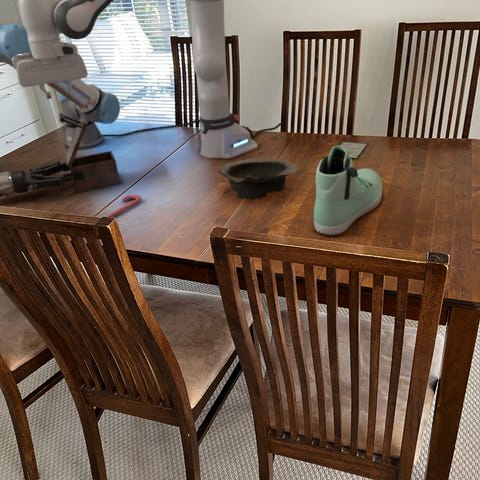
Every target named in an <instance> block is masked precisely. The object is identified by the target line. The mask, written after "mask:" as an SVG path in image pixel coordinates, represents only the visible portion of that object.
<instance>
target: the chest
mask: <svg viewBox="0 0 480 480" xmlns="http://www.w3.org/2000/svg"><path fill="white" fill-rule="evenodd" d="M118 170H119V169H118V166H117V161H116V158H115V156H114V154H113V152H112V150H109V151H104V152H97V153H93V154H87V155H81V156H77V157H76V156H75V159H74V161H73V164H72V166H71V167H70V171H69V172H70V173H72V172H77V171H83V172H84V176H85V179H81V180H76V181H72V182H73V186H74V190H75V193H76V194H77V193H83V192H88V191H91V190H92V191H93V190H96V189H101V188H106V187H110V186H116V185H120V184H121V180H120V175H119V171H118Z"/></svg>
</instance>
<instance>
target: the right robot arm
mask: <svg viewBox="0 0 480 480" xmlns="http://www.w3.org/2000/svg"><path fill="white" fill-rule="evenodd" d="M114 1H115V0H18V9H19V14H20V17H21V21H22V25H23V26H24V27H25V29H26V31H27V34H28V43H29V46H30V50H31V52H29V53H24V54H16V56H14V57H13V58H12V64H13V67H14V70H16V72H17V73H16V74H17V79H18V83H19V85H20V86H21V87H22V88H29V87H35V86H38V87H39V89H40V91H42V92H43V94H44V95H45V97H46V99H47V100H50V99H52V98H53V97H52V93H51V91H47V90H46V89H45V88H46V87H45V85H47V84H49V83H56V82H62V81H67V83H68V84H69V86H68V89H65V91H66V95H67V96H70V95H71V91H70V90H71V87H72V80H75V79H81V80H83V79H86V78H87V77H88V75H89V73H88V69H87V67H86V63H85V62H84V61H85V60H84V58H83V56H81V54H80V53H79V49H78V46H77V45H76V44H75V43H69V42H63V41H61V38H60V34H62V35H64V36H65V37H67V38H68V39H71V40H83V39H86V38H87V37H88V36H89V35H90V34H91V33H92V31H93V29H94V27H95V24H96V21H97V19H98V18H99V16H100V14H102V12H104V11H105V10H106V8H108V7H109V6H110V5H111V4H112V3H113V2H114ZM190 15H191V16H190V17H191V34H192V35H191V40H192V41H191V42H192V65H193V70H194V72H195V75H196V83H197V84H196V86H197V88H196V89H197V98H198V99H197V100H198V108H199V119H198V120H200V123H199V128H200V132H201V144H200V151H199V154H200V155H201V156H203V157H205V158H208V159H227V160H228V159H233V158H235V157H238V156H240V155H243V154H246V153H249V152H251V151H254V150H257V149H258V143H257V141H255V140H253V139H254V138H255V137H257V136H258V135H259V134H260V133H263V132H269V131H274V130H277V129H278V128H279V127H280V126H281V127H284V126H285V124H284V123H283V122H279V123H278V124H277V125H276V126H274V127H270V128H264V129H259V130H257V131H256V132H255V133H254V134H253V131H252V129H250V127H249V126H245V125H241V124H239V123H237V122H238V121H240V119H241V117H240V115H238V114H234V113H232V112H230V110H231V109H230V99H229V87H228V73H227V61H226V60H227V59H226V31H225V29H226V28H225V0H190ZM22 57H23V58H22ZM32 57H33V58H32ZM14 58H16V59H14ZM13 67H12V68H13ZM252 138H253V139H252Z"/></svg>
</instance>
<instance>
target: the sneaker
mask: <svg viewBox="0 0 480 480" xmlns="http://www.w3.org/2000/svg"><path fill="white" fill-rule="evenodd" d="M317 165H318V166H317V168H316V172H315V201H314V207H313V225H314V229H315V231H316V232H318V233H320V234H323V235H326V236H327V235H328V236H336V235H339V234H342V233H344V232H345V231H347V230H348V229H349V228H350V227H351V226H352V225H353V224H354V222H356V221H357V220H358V219H359V218H360V217H362V216H363V215H365V214H367V213H370V212H372V210H374V209H375V208H377V207H378V205H380V203H381V200H382V196H383V184H382V183H383V182H382V179H381V176H380V175H379V173H378V172H377V171H376V170H374V169H372V168H367V167H365V168H358V169H357V168H355V167H354V161H353V159H352V158H351V157H350V156H349V153H348V152H347V150H346V149H345V148H344V147H342V146H341V145H334V146H333V147H331V149H330V151H329V154H327V155H326V156H325V157H324V158H322V159H321V160H320V161H319V163H318V164H317ZM343 230H344V231H343ZM319 231H320V232H319ZM322 232H323V233H322ZM339 232H340V233H339ZM326 233H327V234H326ZM328 233H329V234H328ZM335 233H337V234H335Z"/></svg>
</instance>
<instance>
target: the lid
mask: <svg viewBox="0 0 480 480" xmlns="http://www.w3.org/2000/svg"><path fill="white" fill-rule="evenodd" d="M58 118H59V122H60V123H62V124H63V123H65V122H66V123H68V124H71V125H74V126H76V127H77V128H76V131H75V133H74V136H73V139H72V141H71V144H70V146H69V148H68V149H67V151H66V155H65V161H66V163H67V166H69V167H71V166H72V164H73V161H74V159H75V158H76V155H77V153H78V150H79V149H78V148H79V146H80V143H81V140H82V138H83V135H84V133H85V130H86V128H87V125H88V123H87V120H86V117H85V116H84V115H81V117H80V120H79V121H77V120H75V119H72V118H70V117H67V116H64V114H63V112H59V113H58ZM65 119H68V120H71V121H73V122H76V123H78V124H75V123H73V122H70V121H68V120H65ZM66 123H65V124H66Z"/></svg>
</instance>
